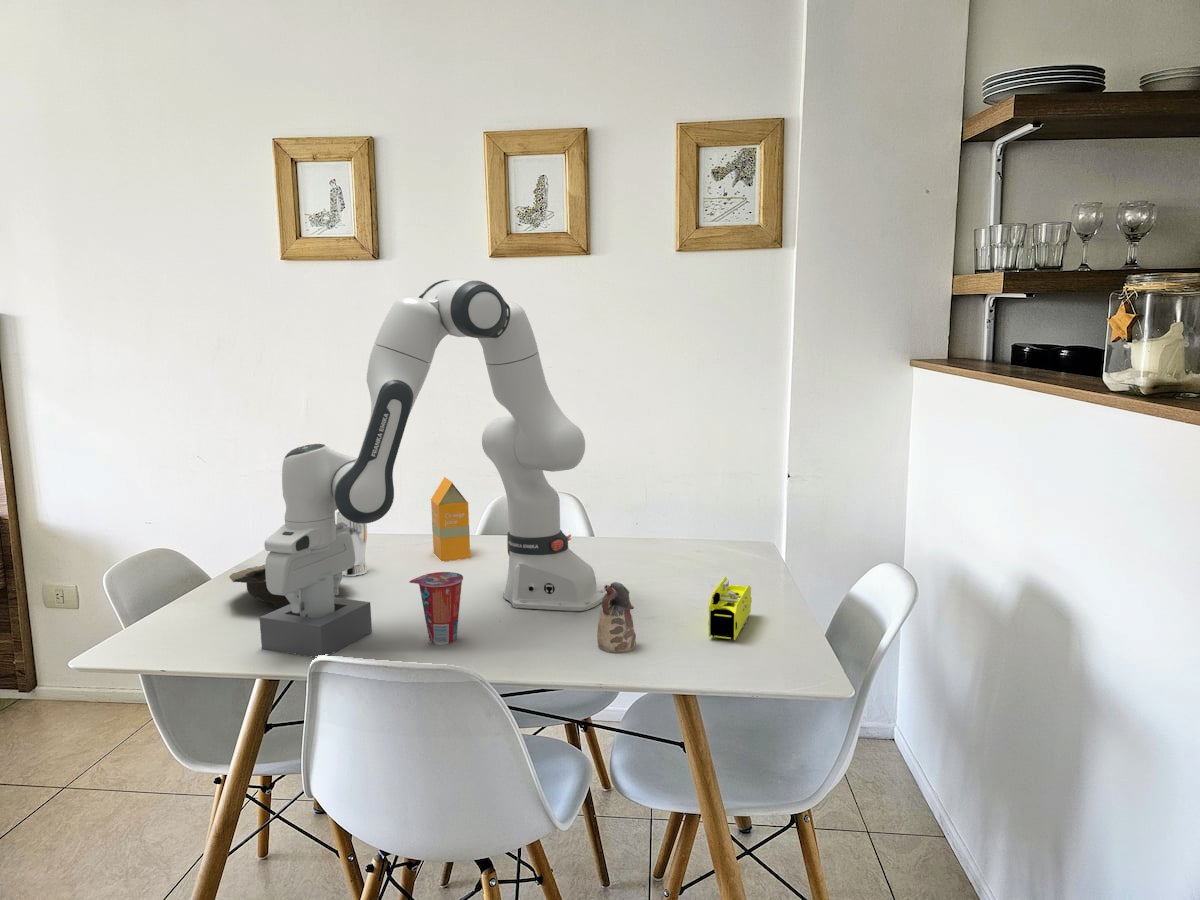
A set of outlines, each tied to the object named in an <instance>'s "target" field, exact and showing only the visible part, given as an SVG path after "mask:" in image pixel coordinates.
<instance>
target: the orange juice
mask: <svg viewBox="0 0 1200 900" xmlns="http://www.w3.org/2000/svg"><path fill="white" fill-rule="evenodd" d="M430 503H431V507H430V508H431V527H432V530H431V532H432V543H433V544H432V545H433V547H432V548H433V549H432V550H433V554H435V555H436V556H437V557H438V558H439V559H440V560H441V561H445V562H450V561H449V560H452V561H459V560H458V559H460V560H465V559H466V558H468V559H471V545H470V544H471V542H470V540H471V539H470V535H471V534H470V517H469V515H470V514H469V502H468V501H467V500H466V498H465V497H464V496H463V494H462V493H461V492H460V491H459V489H457V487H456V486H455V484H454V483H453V481H451V480H450V479H448V478H447V477H445V476H444V477H443V479H442V480H441V482H440V484H439V485H438V487H437V489H436V490H435V492H434V493H433V495H432V496H431V499H430ZM435 555H434V556H435ZM436 556H435V557H436ZM437 557H436V558H437ZM438 558H437V559H438ZM439 559H438V560H439ZM440 560H439V561H440ZM441 561H440V562H441Z"/></svg>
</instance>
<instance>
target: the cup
mask: <svg viewBox="0 0 1200 900" xmlns="http://www.w3.org/2000/svg"><path fill="white" fill-rule="evenodd" d="M463 580H464V576H463V575H462V574H461V573H458V572H451V571H439V572H438V571H436V572H431V573H426V574H423V575H420V576H417V577H415V578H412V579H411V580H409V584H410V583H411V584H417V585H418V586H419V591H420V596H421V603H422V608H423V613H424V617H425V618H424V619H425V624H426V630H427V635H428V641H429V643H430V644H433V645H435V646H436V645H437V646H439V645H440V646H442V645H443V646H445V645H448V644H452V643H454V642H456V641H457V638H458V627H459V616H460V614H459V613H460V607H461V606H460V604H461V595H462V585H463V584H462V583H463Z"/></svg>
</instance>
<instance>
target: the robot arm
mask: <svg viewBox="0 0 1200 900" xmlns="http://www.w3.org/2000/svg"><path fill="white" fill-rule="evenodd" d="M448 335H450V336H453V337H457V338H465V337H466V338H467V337H469V338H474V339H477V340H478V341H479V343H480V345H481V348H482V352H483V355H484V356H483V357H484V360H485V365H486V369H487V372H488V377H489V381H490V385H491V389H492V390H491V391H492V393H493V396H494V398H495V400H496V401H497V402H498V403H499V405H501V406H502V407H504V408H505V409H506V410H507V411H508V412H509V414H510V415H508V416H502V417H499V418H494V419H492V420H490V421H489V422H488V424H486V426H485V428H484V429H483V431H482V435H481V445H482V451H483V452H484V454H485V456H486V457H487V458H488V459H489V460H490V461H491V463H493V465H494V466H495V468H496V470H497V472H498V474H499V476H500V478H501V481H502V484H503V487H504V490H505V495H506V500H507V501H506V502H507V510H508V512H507V514H508V532H507V533H506V534H507V538H506V539H507V554H508V558H509V559H508V568H507V569H508V570H507V577H506V584H505V589H504V592H503V598H504V599H505V600H507V602H510V603H511V606H512V607H513V608H514V609H516V608H517V609H531V610H533V609H534V610H551V611H565V612H566V611H567V612H583V611H587V610H589V609H593V608H594V607H597V606H598V605H600V604H602V601H603V598H604V596H605V595H606V594H607V592H606V590H605V589H604V587H602V586H597V578H596V575H595V571H594V569H593V567H592V566H591V565H590V564H589V563H588V562H586V561H584V559H582V558H581V557H580V556H579V555H577V553H575V552H574V551H572V549H570V548H569V541H571V540H572V538H571V537H572V534H568V535H566V534H565V533H564V532H563V531H562V529H561V507H560V506H561V504H560V503H561V502H560V496H559V494H558V492H557V490H556V489H554V488H553V486H552V485H551V484H550V483H549V482H548V480H547V478H546V477H545V474H544V472H551V473H552V472H562V471H568V470H569V471H570V470H572V469H575V468H577V466H578V465H579V464H580V463H581V461H582V460H583V457H584V456H585V451H586V440H585V436H584V433H583V431H582V430H581V429H580V427H579V426H578V425H576V424H575V423H574V422H572V421H571V420H570V419H569V418H568V417H567V415H566V414H565V413H564V412H563V411H562V409H561V408H560V407H559V405H558V404H557V401H556V400H555V399H554V397H553V395H552V393H551V391H550V389H549V386H548V383H547V381H546V377H545V373H544V369H543V365H542V361H541V357H540V352H539V349H538V344H537V340H536V337H535V334H534V331H533V329H532V325H531V323H530V321H529V318H528V315H527V313H526V311H525V310H524V308H523V307H522V306H521V305H519V304H518V303H515V302H510V301H505V299H504V297H503V296H502V295H501V293H500V292H499V290H497V289H496V288H495V287H494V286H493V285H491V284H489V283H487V282H485V281H481V280H474V279H473V280H472V279H467V278H456V279H452V280H451V279H450V280H449V279H442V280H440V281H439V280H438V281H436V282H434V283H433V284H431V285H430V286H428V287H427V288H426V289H425V290H424V291H423V293H422V294H420V295H419V296H418V297H417V296H403V297H400V298H399V299H396V300H395V302H394V303H393V304H392V306H391V307H390V309H389V311H388V313H387V314H386V316H385V318H384V321H383V322H382V324H381V326H380V329H379V331H378V333H377V336H376V338H375V341H374V344H373V347H372V349H371V352H370V355H369V359H368V365H367V372H366V383H367V388H368V391H369V395H370V396H369V397H370V401H371V402H370V403H371V404H370V406H371V409H370V416H369V421H368V425H367V428H366V431H365V433H364V437H363V440H362V443H361V447H360V448H359V449H360V450H359V453H358V456H357V457H354V456H349V455H347V454H346V455H345V454H343V453H341V452H338V451H335V450H333V449H331V448H330V447H328V446H327V445H325V444H323V443H314V444H306V445H302V446H298V447H295V448H294V449H291V450H290V451H289V452H288V453H287V454H285V456H284V458H283V462H282V470H281V487H282V488H281V489H282V497H283V500H284V503H285V511H284V512H285V513H284V524H282V526H280V527H279V529H277V530H276V531H275V532H273V534H271V535H270V536H269V537H267V538H266V539H264V540H265V541H264V543H263V544H264V550H265V551H267V552H269V553H268V554H267V556H266V558H265V563H264V565H265V572H266V585H267V589H268V590H269V592H270V593H271V594H275V595H283V596H284V595H285V597H286V598H287V599H288V601H289V602H290V603H291V611H292V612H293V613H300V612H302V611H304V602H300V600H299V598H298V597H297V595H299V589H302V588H304V587H306V586H309V585H311V584H314V583H316V582H317V581H318V576H320V575H322V574H325V573H327V572H330V571H331V572H332V574H333V586H334V597H337V596H338V595H340V590H339V587H340V585H341V582H342V579H343V575H342V572H343V571H345V570H347V569H350V568H352V567H353V566H354V564H355V551H354V545H353V540H352V537H351V535H350V529H349V527H348V526H347V525H346V524H344V522H340V523H337V522H336V514H335V512H336V511H337V510H338V512H340V513H341V514H342V515H343V516H344V517H345V518H346V519H348V520H350V521H352V522H355V523H361V524H365V523H367V524H371V523H373V522H376V521H379V520H380V519H382V518H383V517H385V515H387V513H388V512H389V511H390V509H391V508H392V506H393V503H394V498H395V487H394V467H395V463H396V459H397V457H398V452H399V449H400V445H401V443H402V438H403V436H404V433H405V429H406V426H407V422H408V420H409V417H410V414H411V413H412V410H413V407H414V405H415V403H416V400H417V399H418V396H419V394H420V392H421V391H422V388H423V385H424V383H425V381H426V379H427V376H428V374H429V371H430V368H431V365H432V363H433V360H434V356H435V353H436V349H437V348H438V346H439V344H440V343H441V341H442V340H443V339H444V338H445V337H446V336H448Z"/></svg>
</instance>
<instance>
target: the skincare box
mask: <svg viewBox="0 0 1200 900" xmlns="http://www.w3.org/2000/svg"><path fill="white" fill-rule="evenodd" d="M299 600H300V602H304V611H302V612H300V616H302V617H308V618H315V619H320V618H322V617H324V616H326V615H328V614H330V613H332V612H334V611H335V607H334V586H333V574H332V572H331V571H330V572H327V573H325V574H322V575H320V576H318V581H317V582H316V583H314V584H311V585H309V586H306V587H304V588H302V589H299Z"/></svg>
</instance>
